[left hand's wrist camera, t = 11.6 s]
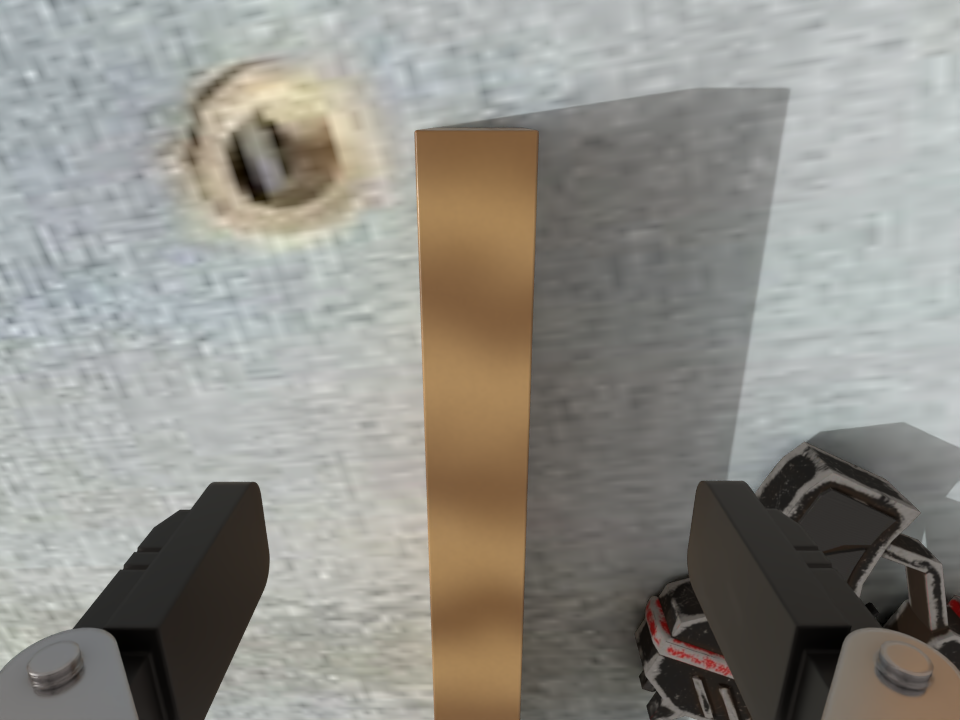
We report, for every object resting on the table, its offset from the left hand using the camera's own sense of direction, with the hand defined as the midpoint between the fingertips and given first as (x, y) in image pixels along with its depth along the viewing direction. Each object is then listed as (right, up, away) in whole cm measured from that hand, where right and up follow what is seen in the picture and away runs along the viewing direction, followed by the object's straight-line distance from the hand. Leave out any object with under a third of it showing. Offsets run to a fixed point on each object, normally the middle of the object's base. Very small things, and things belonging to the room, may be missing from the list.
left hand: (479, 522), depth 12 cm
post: (0, -12, +29) cm, 31 cm away
